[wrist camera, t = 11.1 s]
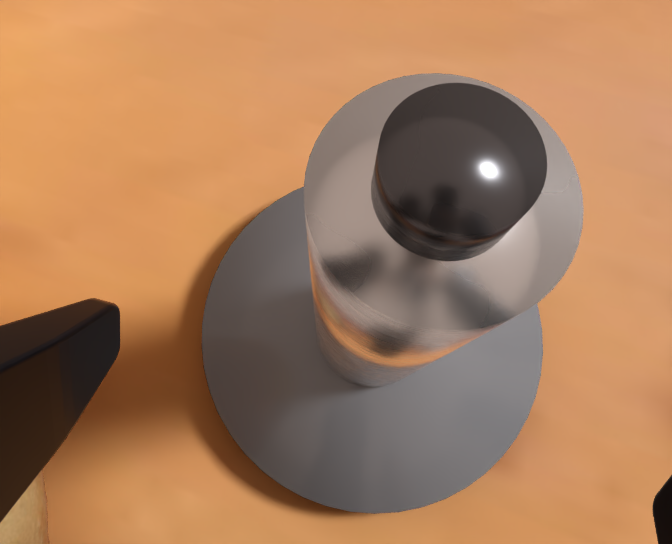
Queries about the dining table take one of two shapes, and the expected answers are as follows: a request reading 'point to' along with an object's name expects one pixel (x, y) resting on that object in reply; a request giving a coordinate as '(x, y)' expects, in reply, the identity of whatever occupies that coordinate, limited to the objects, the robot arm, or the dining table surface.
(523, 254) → the pepper mill
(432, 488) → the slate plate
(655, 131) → the dining table surface
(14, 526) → the bread roll
